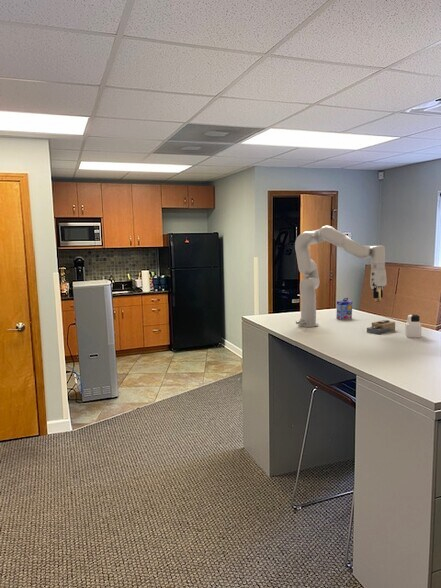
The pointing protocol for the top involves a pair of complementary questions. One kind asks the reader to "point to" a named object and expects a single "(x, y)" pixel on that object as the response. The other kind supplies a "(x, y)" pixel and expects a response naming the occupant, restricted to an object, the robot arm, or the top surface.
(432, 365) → the top surface
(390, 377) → the top surface
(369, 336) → the top surface
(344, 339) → the top surface
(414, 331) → the medicine bottle
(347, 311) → the ink cartridge box
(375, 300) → the pin
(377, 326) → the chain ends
